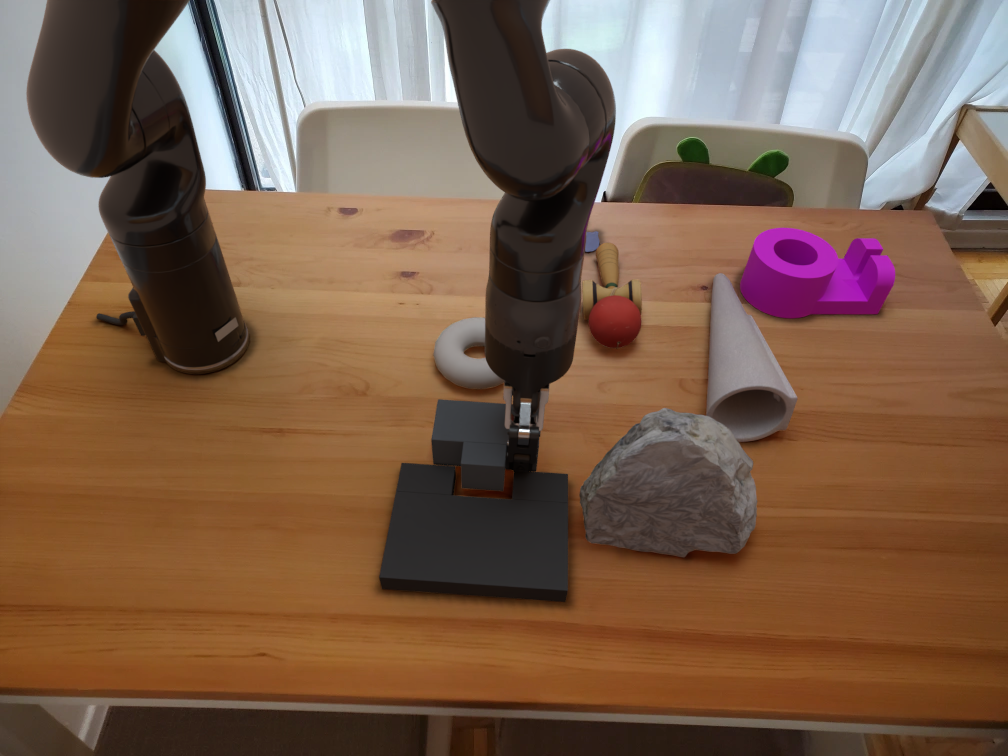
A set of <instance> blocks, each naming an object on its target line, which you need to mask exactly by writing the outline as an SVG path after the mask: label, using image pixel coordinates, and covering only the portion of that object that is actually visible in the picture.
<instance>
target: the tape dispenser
mask: <svg viewBox="0 0 1008 756" xmlns="http://www.w3.org/2000/svg"><path fill="white" fill-rule="evenodd" d="M753 241H754V242H753V243H752V246H751V250H750V253H749V256H748V258H747V262H746V264H745V268H744V271H743V273H742V276H741V278H740V282H739V290H740V293H741V294H742V297H743V298H744V299H745V301H747V302H748V303H749V304H750V305H751V306H752V307H753V308H755V309H756V310H759V311H760V312H762V313H763V314H764V313H765V314H767V315H770V316H773V317H775V318H776V317H777V318H781V319H801V318H804V317H808V316H810V315H878V314H879V313H880V311H881V309H882V307H883V305H884V303H885V301H886V300H887V298H888V296H889V294H890V293H891V291H892V290H893V287H894V285H895V282H896V281H895V280H896V268H895V265H894V263H893V261H892V260H891V258H890V257H889V256H888V255H883V254H882V253H883V251H884V248H883V246H882V244H881V243H880V241H879V240H878V239H877V238H874V237H871V238H870V237H867V238H866V237H865V238H864V237H856V238H854V239H852V241H851V242H850V244H849V245H848V248H847V250H846V253H845V255H844V257H843V258H839V256H838V253H837V252H836V250H835V248H834V247H833V246H832V245H831V244H830V243H829V242H828V241H827V240H825V239H824V238H822V237H820V236H818V235H817V234H814V233H812V232H810V231H806V230H803V229H798V228H793V227H774V228H769V229H766V230H764V231H762V232H760V233H759V234H758V235H757V236H756V237H755V239H754V240H753Z"/></svg>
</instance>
